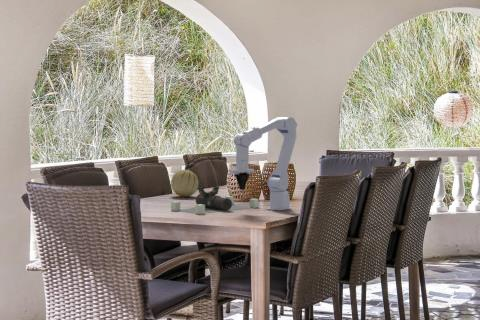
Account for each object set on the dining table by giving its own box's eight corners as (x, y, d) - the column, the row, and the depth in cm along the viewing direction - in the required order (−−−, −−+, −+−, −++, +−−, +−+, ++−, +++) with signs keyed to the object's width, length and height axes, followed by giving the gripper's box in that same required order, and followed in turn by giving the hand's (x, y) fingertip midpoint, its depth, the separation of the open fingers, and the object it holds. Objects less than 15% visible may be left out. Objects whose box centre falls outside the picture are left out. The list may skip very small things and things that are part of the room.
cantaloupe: (166, 197, 436) (167, 169, 435) (176, 194, 450) (177, 167, 449) (192, 198, 432) (193, 170, 431) (202, 196, 446) (202, 168, 445)
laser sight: (218, 211, 378) (218, 190, 377) (191, 206, 395) (191, 186, 395) (235, 210, 384) (235, 189, 383) (207, 205, 401) (207, 185, 401)
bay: (229, 204, 410) (229, 195, 410) (258, 207, 397) (258, 199, 397) (171, 210, 380) (171, 201, 380) (200, 214, 368) (200, 205, 367)
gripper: (246, 159, 385) (246, 187, 386) (225, 160, 374) (224, 189, 375) (257, 159, 380) (257, 189, 381) (236, 160, 370) (236, 191, 370)
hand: (242, 189), depth 378 cm, fingers closed
